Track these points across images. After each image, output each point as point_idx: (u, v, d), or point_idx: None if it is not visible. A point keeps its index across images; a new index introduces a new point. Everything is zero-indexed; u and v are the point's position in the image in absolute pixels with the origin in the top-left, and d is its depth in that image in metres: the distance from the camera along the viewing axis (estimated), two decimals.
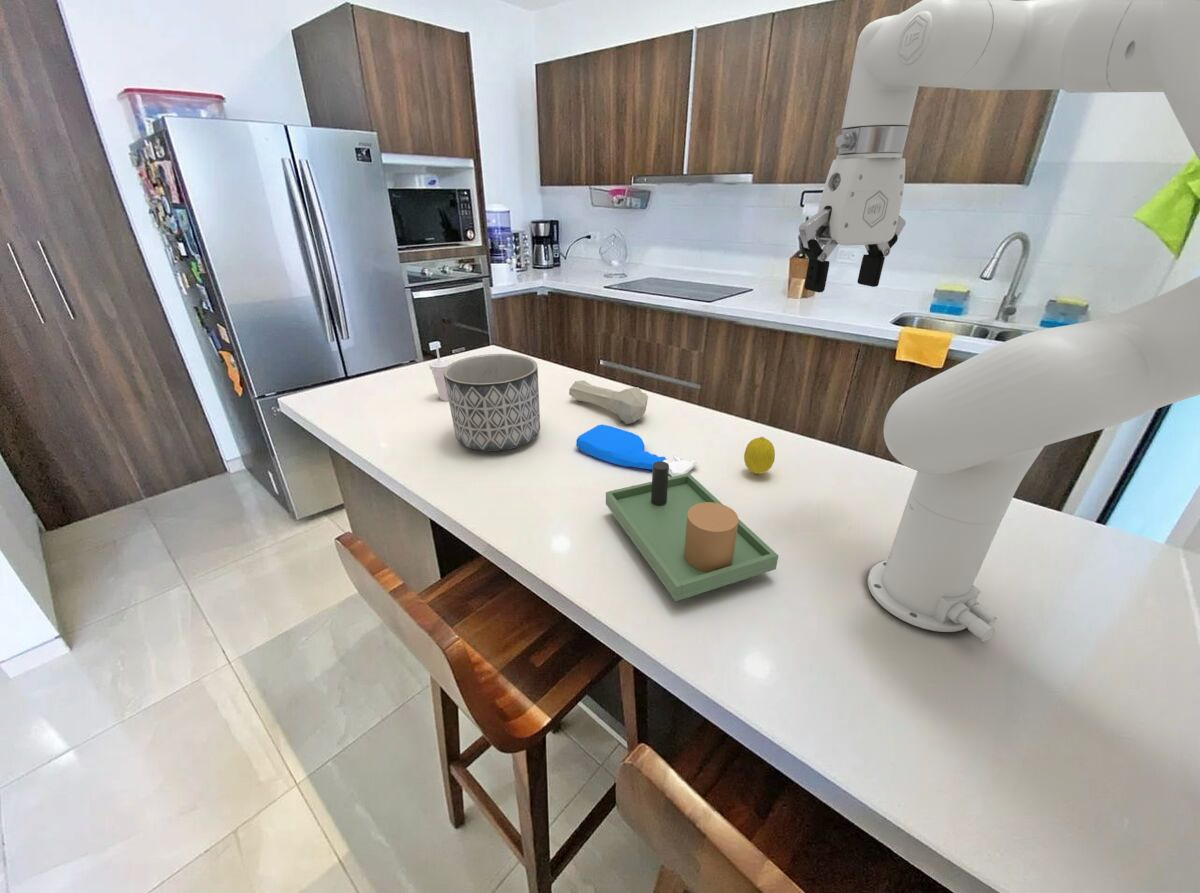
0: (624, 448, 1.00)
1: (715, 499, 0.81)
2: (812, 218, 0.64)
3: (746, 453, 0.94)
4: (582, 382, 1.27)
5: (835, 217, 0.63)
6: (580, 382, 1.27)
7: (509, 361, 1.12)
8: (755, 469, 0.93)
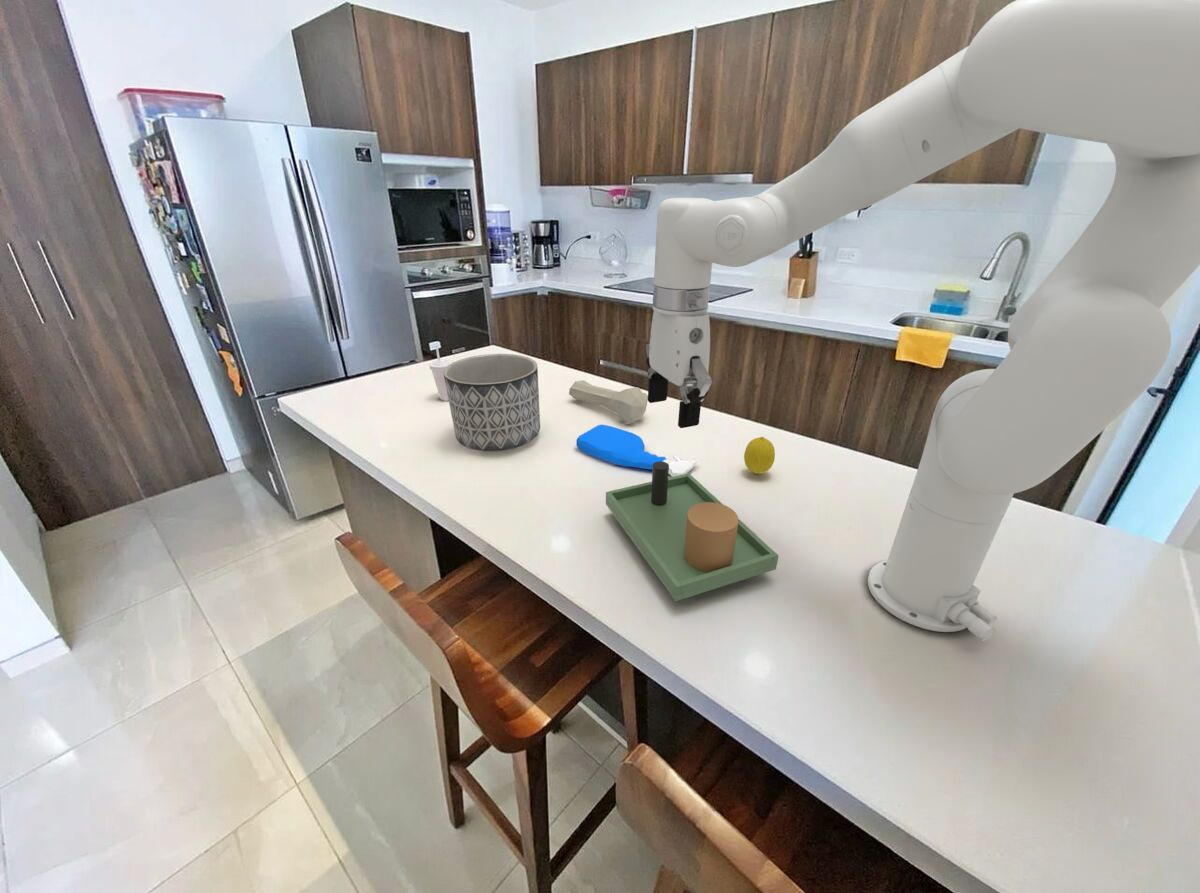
0: (624, 448, 1.00)
1: (715, 499, 0.81)
2: (701, 371, 0.66)
3: (746, 453, 0.94)
4: (582, 382, 1.27)
5: (704, 363, 0.68)
6: (580, 382, 1.27)
7: (509, 361, 1.12)
8: (755, 469, 0.93)
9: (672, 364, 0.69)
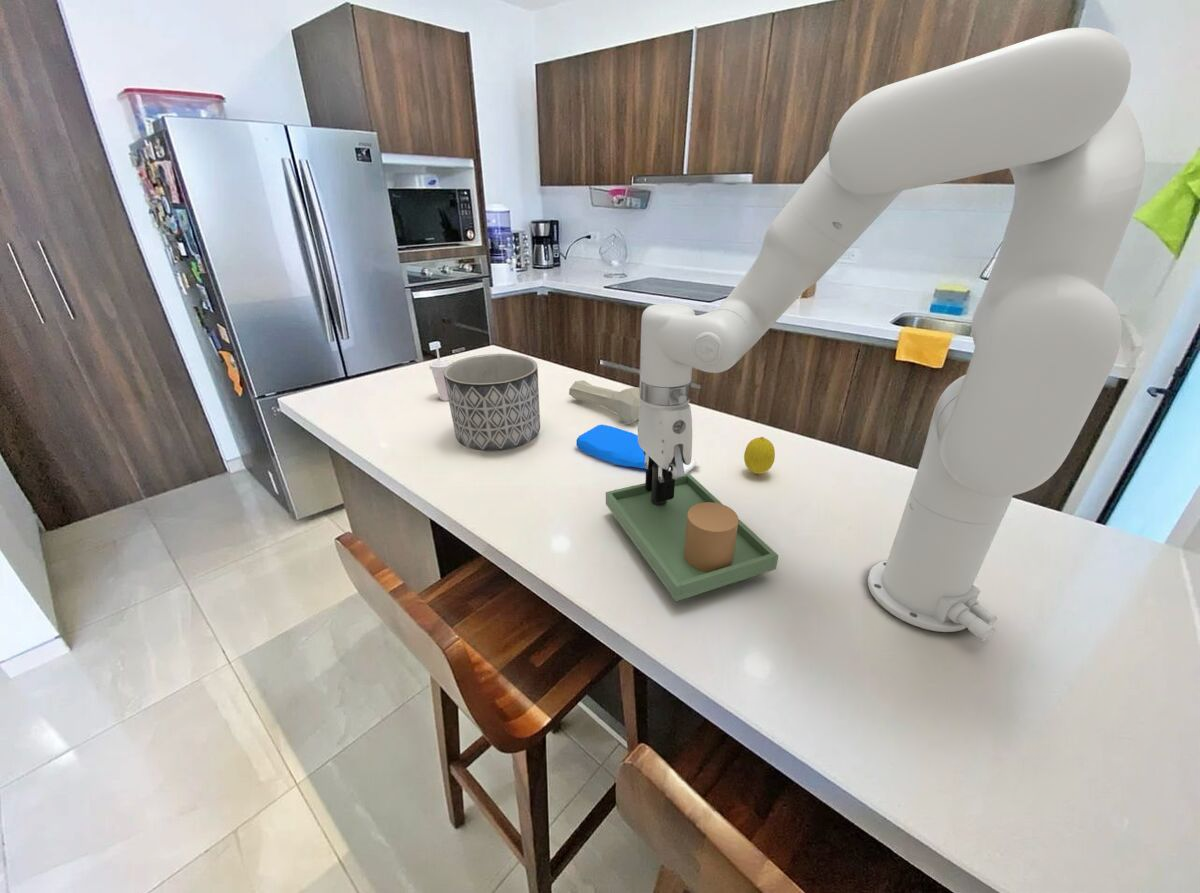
0: (624, 448, 1.00)
1: (715, 499, 0.81)
2: (678, 466, 0.74)
3: (746, 453, 0.94)
4: (582, 382, 1.27)
5: (687, 449, 0.74)
6: (580, 382, 1.27)
7: (509, 361, 1.12)
8: (755, 469, 0.93)
9: (658, 450, 0.74)
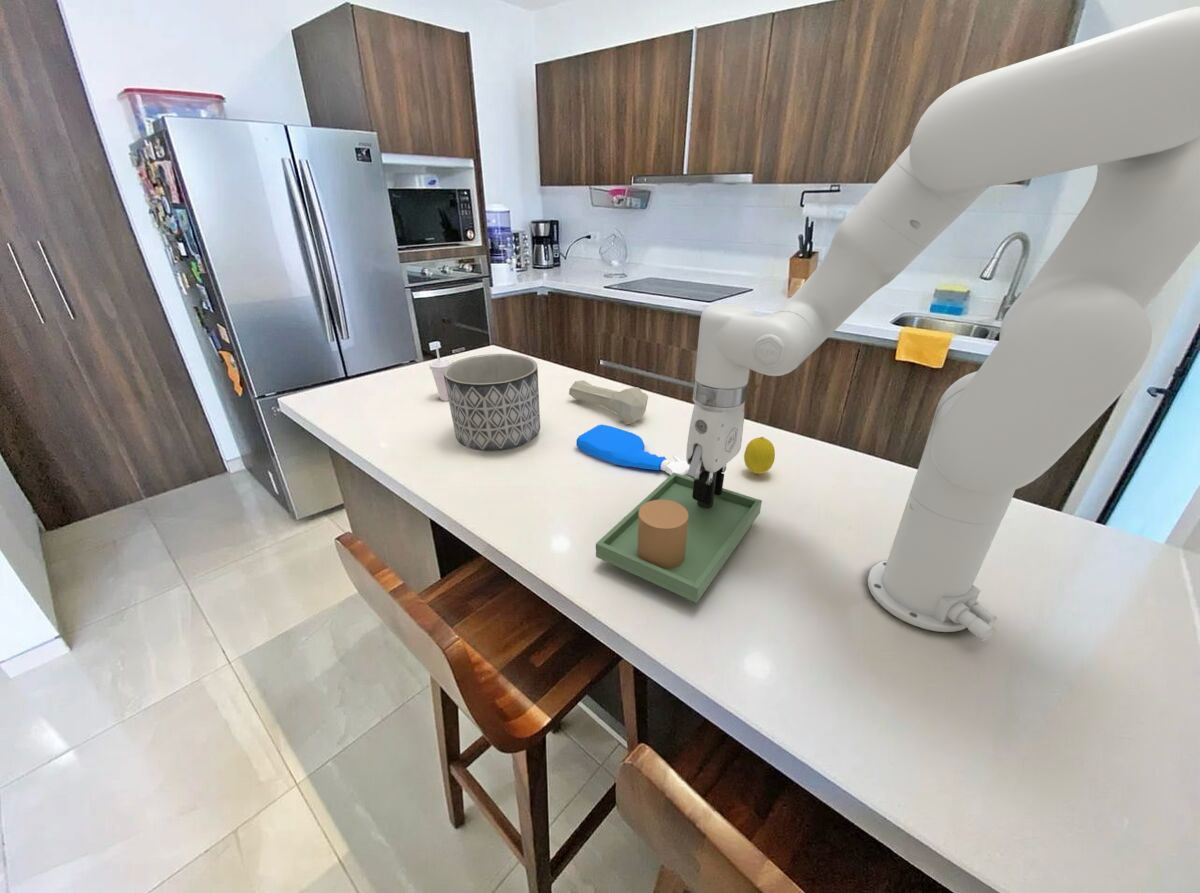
0: (624, 448, 1.00)
1: (739, 527, 0.74)
2: (692, 464, 0.74)
3: (746, 453, 0.94)
4: (582, 382, 1.27)
5: (707, 455, 0.72)
6: (580, 382, 1.27)
7: (509, 361, 1.12)
8: (755, 469, 0.93)
9: None
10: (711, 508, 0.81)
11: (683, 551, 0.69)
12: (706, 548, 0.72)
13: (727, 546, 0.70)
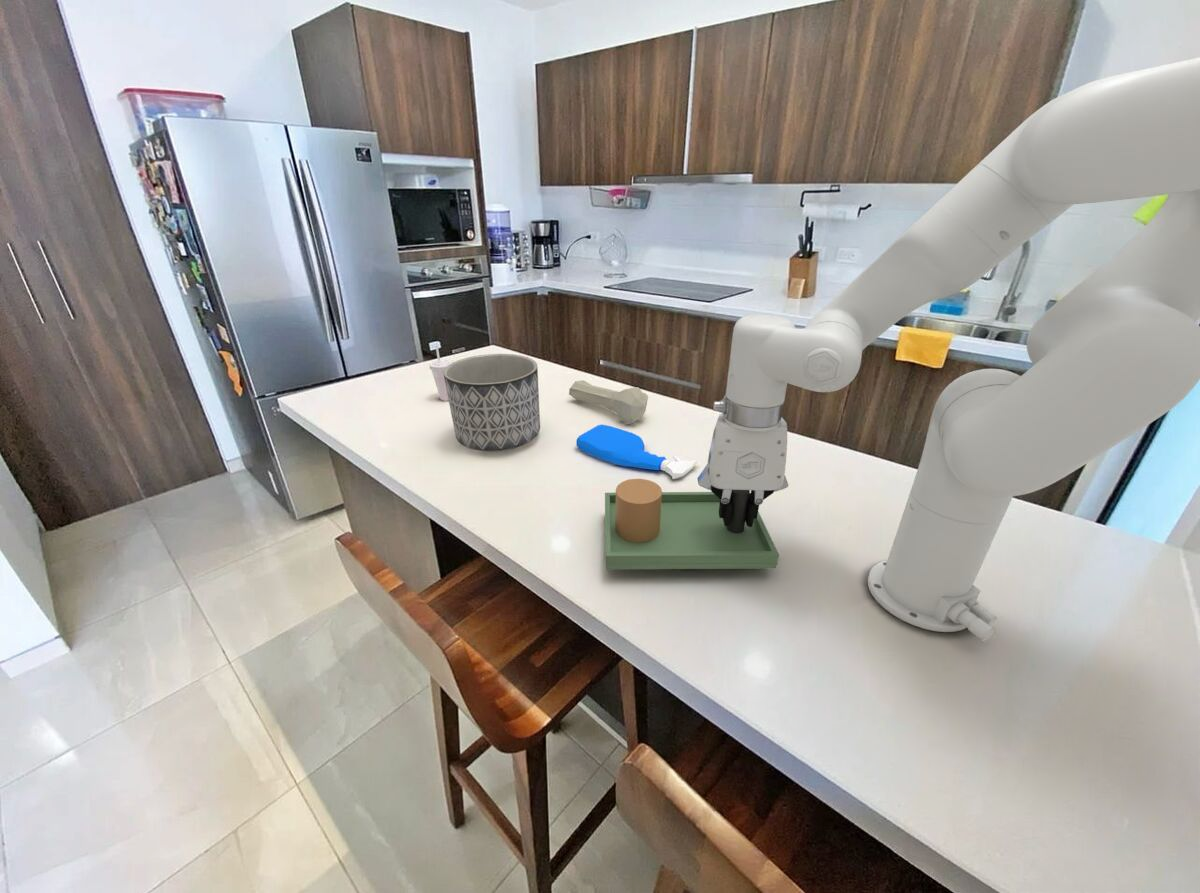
0: (624, 448, 1.00)
1: (713, 553, 0.69)
2: (703, 471, 0.72)
3: None
4: (582, 382, 1.27)
5: (710, 465, 0.69)
6: (580, 382, 1.27)
7: (509, 361, 1.12)
8: None
9: None
10: (733, 533, 0.75)
11: (640, 532, 0.73)
12: (671, 549, 0.72)
13: (677, 554, 0.69)
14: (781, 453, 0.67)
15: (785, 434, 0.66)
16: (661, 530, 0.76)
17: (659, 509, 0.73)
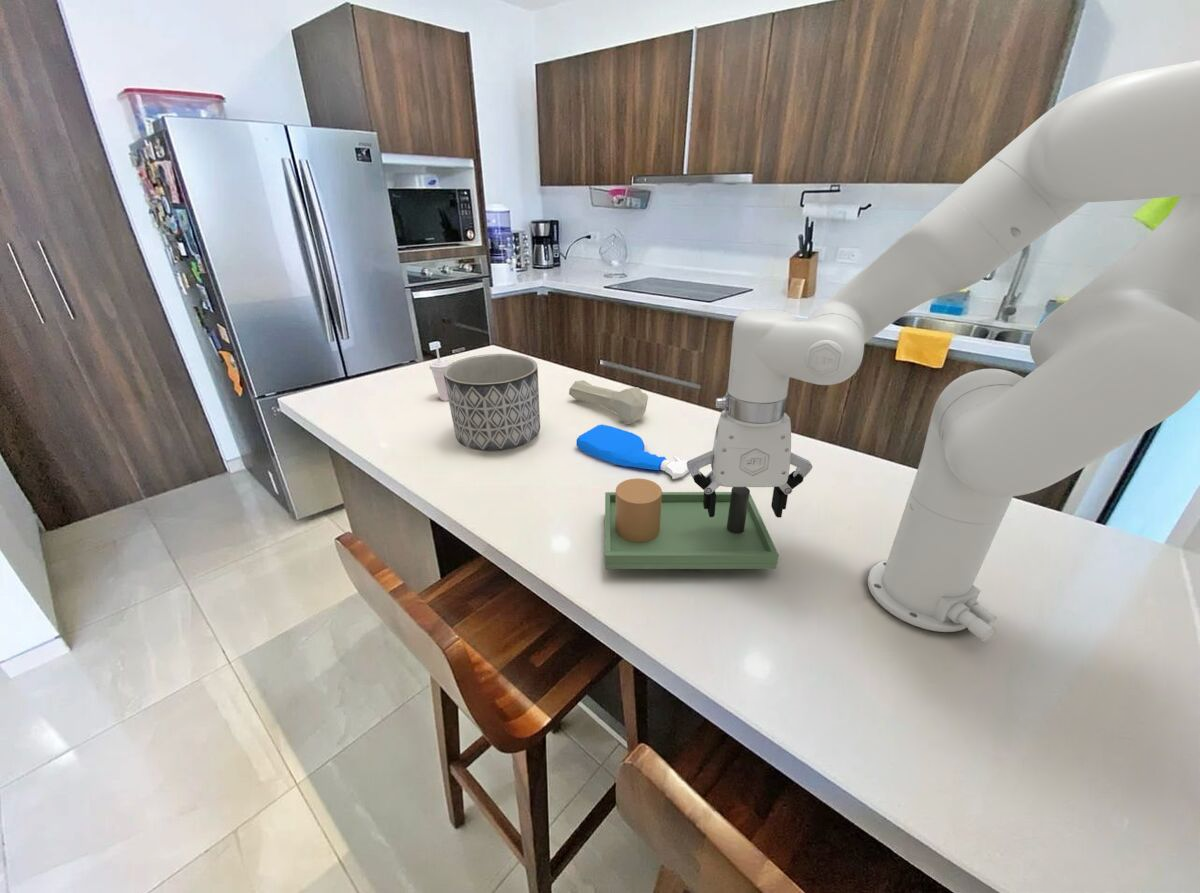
0: (624, 448, 1.00)
1: (713, 553, 0.69)
2: (698, 458, 0.71)
3: None
4: (582, 382, 1.27)
5: (714, 463, 0.69)
6: (580, 382, 1.27)
7: (509, 361, 1.12)
8: None
9: None
10: (733, 534, 0.75)
11: (639, 532, 0.73)
12: (671, 549, 0.72)
13: (676, 554, 0.69)
14: (785, 448, 0.66)
15: (789, 429, 0.65)
16: (661, 530, 0.76)
17: (659, 509, 0.73)
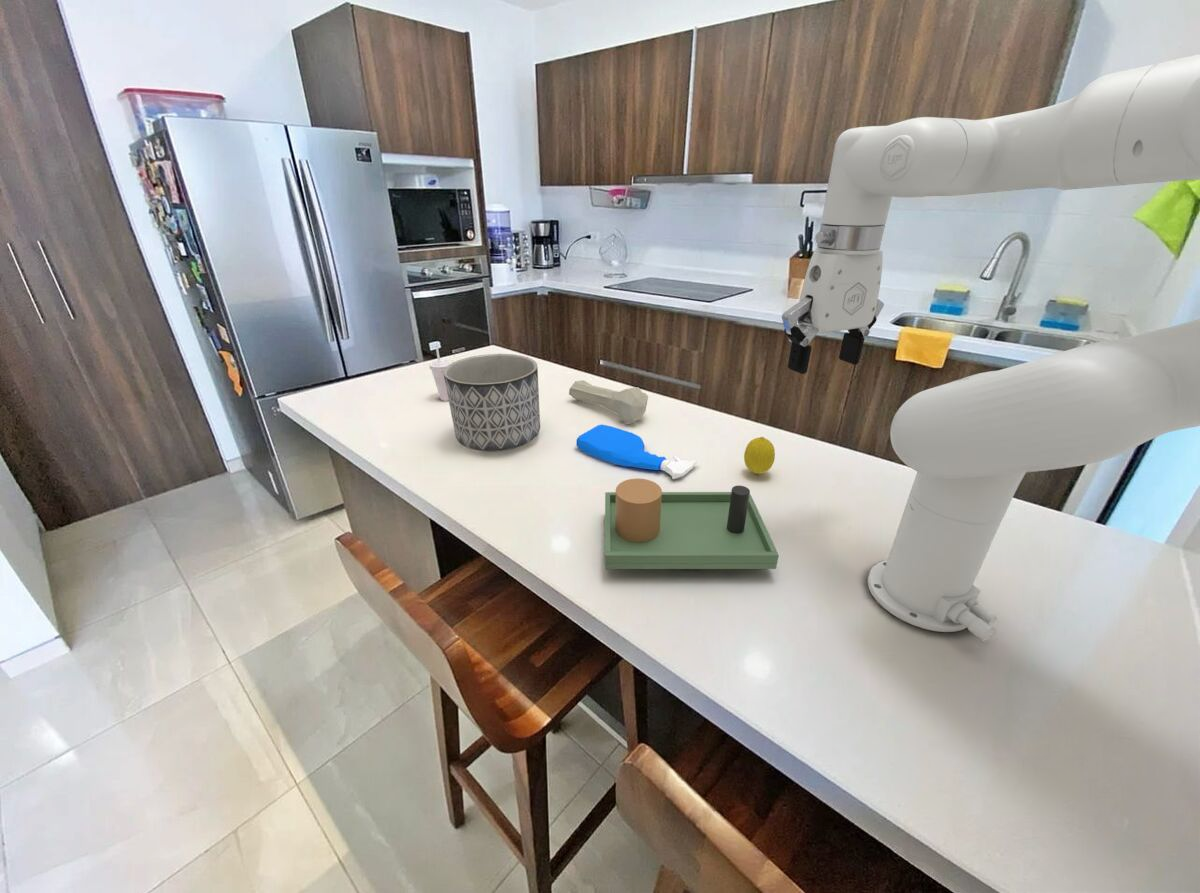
0: (624, 448, 1.00)
1: (713, 553, 0.69)
2: (794, 307, 0.66)
3: (746, 453, 0.94)
4: (582, 382, 1.27)
5: (816, 307, 0.65)
6: (580, 382, 1.27)
7: (509, 361, 1.12)
8: (755, 469, 0.93)
9: None
10: (733, 534, 0.75)
11: (639, 532, 0.73)
12: (671, 549, 0.72)
13: (676, 554, 0.69)
14: (878, 281, 0.66)
15: (882, 260, 0.65)
16: (661, 530, 0.76)
17: (659, 509, 0.73)
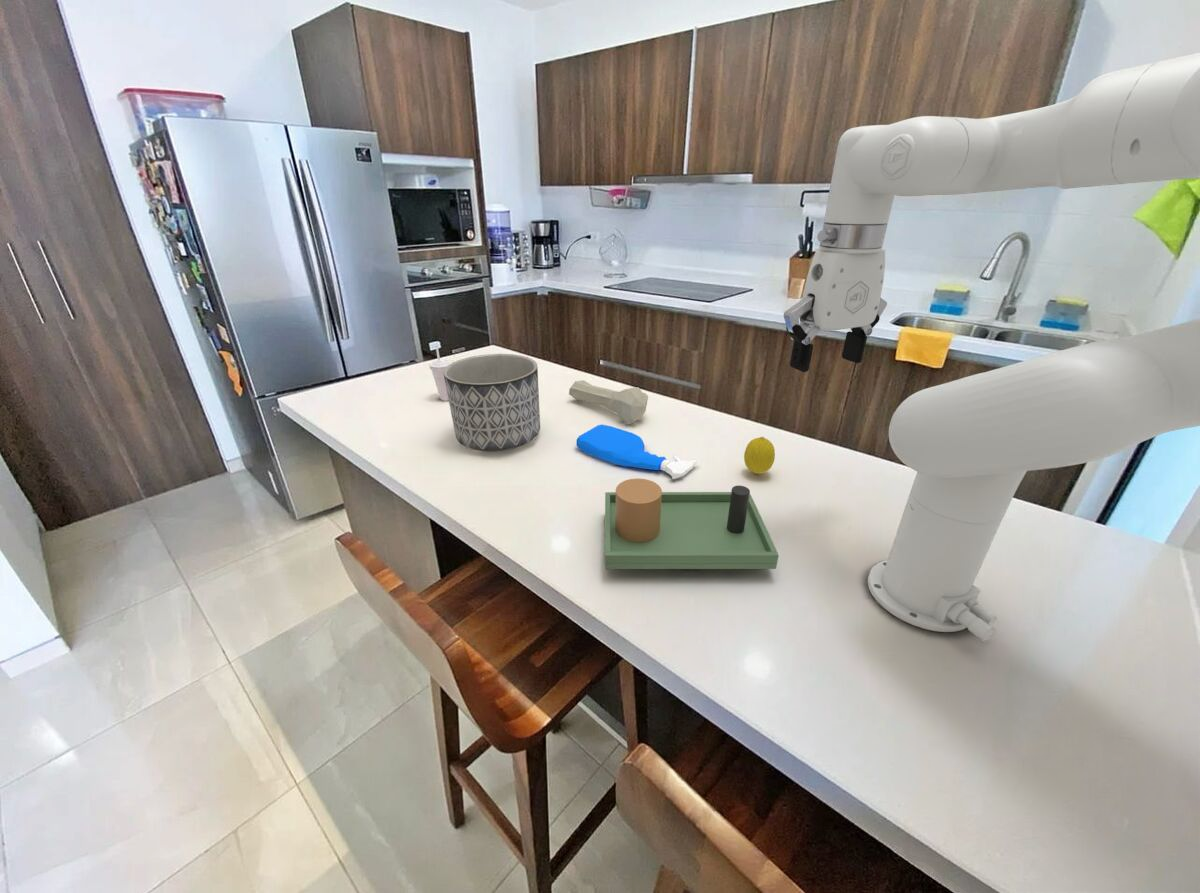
0: (624, 448, 1.00)
1: (713, 553, 0.69)
2: (796, 305, 0.66)
3: (746, 453, 0.94)
4: (582, 382, 1.27)
5: (818, 305, 0.65)
6: (580, 382, 1.27)
7: (509, 361, 1.12)
8: (755, 469, 0.93)
9: None
10: (733, 534, 0.75)
11: (639, 532, 0.73)
12: (671, 549, 0.72)
13: (676, 554, 0.69)
14: (880, 280, 0.66)
15: (884, 258, 0.65)
16: (661, 530, 0.76)
17: (659, 509, 0.73)
